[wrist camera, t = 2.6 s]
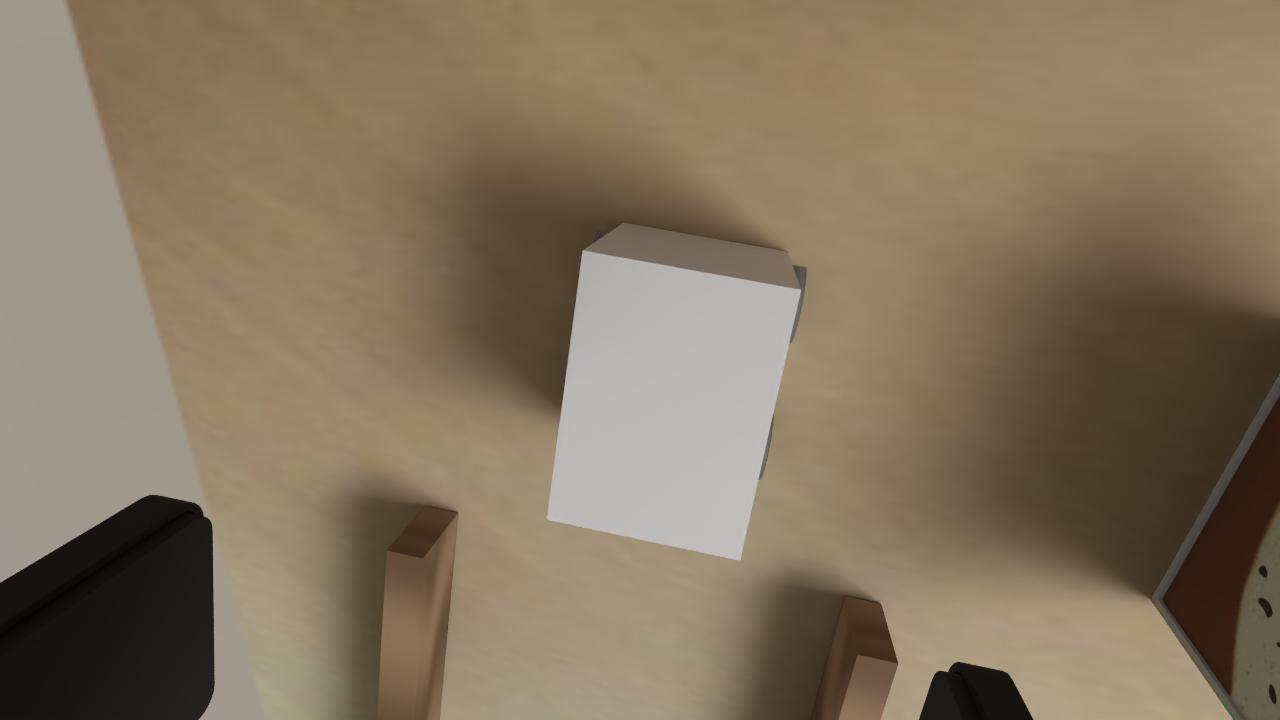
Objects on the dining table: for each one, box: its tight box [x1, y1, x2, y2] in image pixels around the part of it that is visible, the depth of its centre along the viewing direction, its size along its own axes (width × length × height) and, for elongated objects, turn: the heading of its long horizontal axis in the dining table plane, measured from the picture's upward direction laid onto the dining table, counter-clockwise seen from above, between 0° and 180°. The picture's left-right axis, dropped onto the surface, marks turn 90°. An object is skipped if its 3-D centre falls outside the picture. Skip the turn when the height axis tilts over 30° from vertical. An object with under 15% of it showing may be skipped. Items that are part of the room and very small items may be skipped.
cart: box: [547, 223, 806, 561], centre depth 21 cm, size 7×6×6 cm
